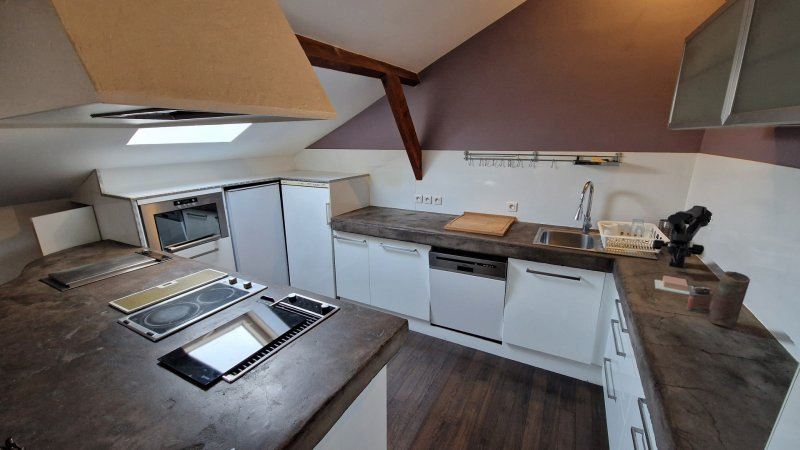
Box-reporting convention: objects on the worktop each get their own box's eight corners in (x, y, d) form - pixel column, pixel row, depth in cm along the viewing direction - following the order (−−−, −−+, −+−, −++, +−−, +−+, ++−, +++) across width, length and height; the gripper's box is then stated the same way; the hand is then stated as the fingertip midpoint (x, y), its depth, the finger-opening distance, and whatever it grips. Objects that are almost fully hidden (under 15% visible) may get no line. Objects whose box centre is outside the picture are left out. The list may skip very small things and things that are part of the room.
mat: (654, 280, 157) (654, 279, 157) (692, 287, 149) (693, 286, 149) (655, 288, 149) (655, 287, 149) (696, 296, 142) (696, 295, 141)
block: (663, 275, 155) (664, 282, 149) (685, 279, 151) (687, 286, 144) (662, 280, 156) (663, 287, 150) (684, 284, 151) (686, 291, 145)
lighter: (704, 307, 133) (710, 285, 130) (711, 312, 130) (717, 289, 127) (683, 307, 134) (688, 285, 131) (689, 311, 130) (695, 289, 128)
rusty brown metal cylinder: (736, 323, 122) (751, 274, 116) (735, 332, 117) (750, 281, 111) (708, 316, 127) (721, 268, 122) (706, 324, 122) (719, 275, 117)
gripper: (657, 223, 161) (654, 252, 155) (708, 229, 150) (706, 259, 145) (653, 234, 169) (650, 261, 163) (701, 240, 159) (700, 269, 153)
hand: (675, 262), depth 156 cm, fingers closed
